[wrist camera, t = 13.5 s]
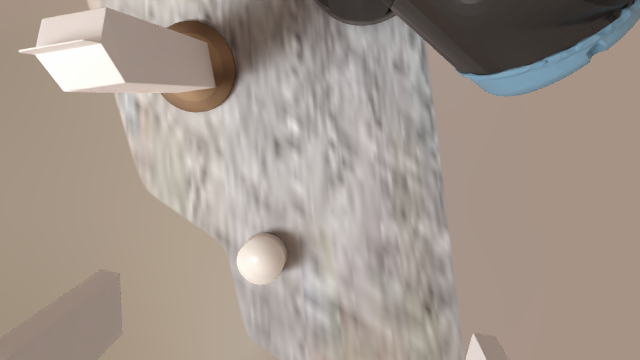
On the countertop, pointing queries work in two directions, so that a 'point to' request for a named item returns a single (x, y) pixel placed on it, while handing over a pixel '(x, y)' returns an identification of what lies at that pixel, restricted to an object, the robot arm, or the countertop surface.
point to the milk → (120, 54)
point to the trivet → (220, 65)
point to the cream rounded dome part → (262, 258)
